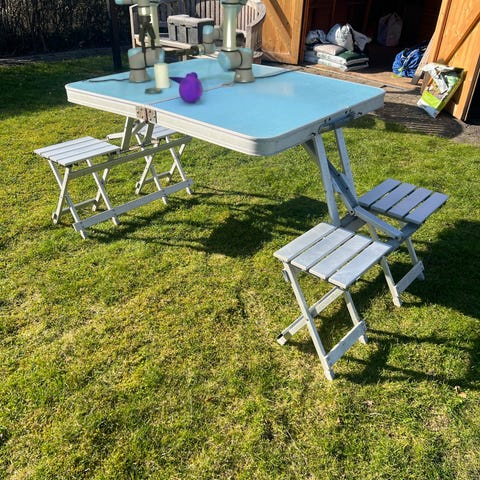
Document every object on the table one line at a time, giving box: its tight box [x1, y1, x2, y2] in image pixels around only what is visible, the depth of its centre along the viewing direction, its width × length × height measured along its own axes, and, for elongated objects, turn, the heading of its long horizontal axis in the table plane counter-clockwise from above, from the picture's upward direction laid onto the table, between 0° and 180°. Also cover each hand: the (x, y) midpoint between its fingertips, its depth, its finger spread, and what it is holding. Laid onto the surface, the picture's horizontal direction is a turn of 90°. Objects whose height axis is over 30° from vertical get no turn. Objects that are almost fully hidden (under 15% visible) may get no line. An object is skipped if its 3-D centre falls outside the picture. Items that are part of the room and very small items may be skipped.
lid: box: [144, 87, 163, 95], centre depth 304 cm, size 11×11×2 cm
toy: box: [168, 71, 204, 104], centre depth 278 cm, size 16×18×27 cm
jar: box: [153, 62, 171, 89], centre depth 316 cm, size 10×10×15 cm
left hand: (148, 51), depth 292 cm, fingers open, 13 cm apart
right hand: (171, 53), depth 315 cm, fingers open, 13 cm apart
